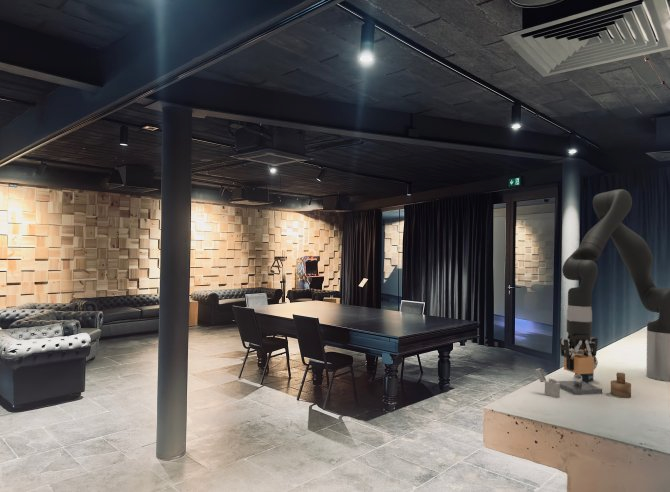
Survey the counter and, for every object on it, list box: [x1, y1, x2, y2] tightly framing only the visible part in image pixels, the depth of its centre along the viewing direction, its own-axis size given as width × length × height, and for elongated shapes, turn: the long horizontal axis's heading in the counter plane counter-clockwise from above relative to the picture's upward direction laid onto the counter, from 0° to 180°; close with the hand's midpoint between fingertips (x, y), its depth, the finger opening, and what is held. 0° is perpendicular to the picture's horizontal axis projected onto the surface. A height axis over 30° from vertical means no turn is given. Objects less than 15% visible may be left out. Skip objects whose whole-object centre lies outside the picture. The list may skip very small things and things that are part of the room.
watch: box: [574, 350, 599, 384], centre depth 164 cm, size 6×8×11 cm
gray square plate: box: [556, 374, 603, 396], centre depth 153 cm, size 10×10×5 cm
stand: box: [610, 372, 632, 399], centre depth 147 cm, size 6×6×7 cm
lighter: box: [535, 367, 561, 399], centre depth 146 cm, size 7×2×8 cm, turn 49°
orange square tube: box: [563, 353, 595, 374], centre depth 152 cm, size 6×6×5 cm
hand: (578, 369), depth 152 cm, fingers closed on orange square tube, 6 cm apart
